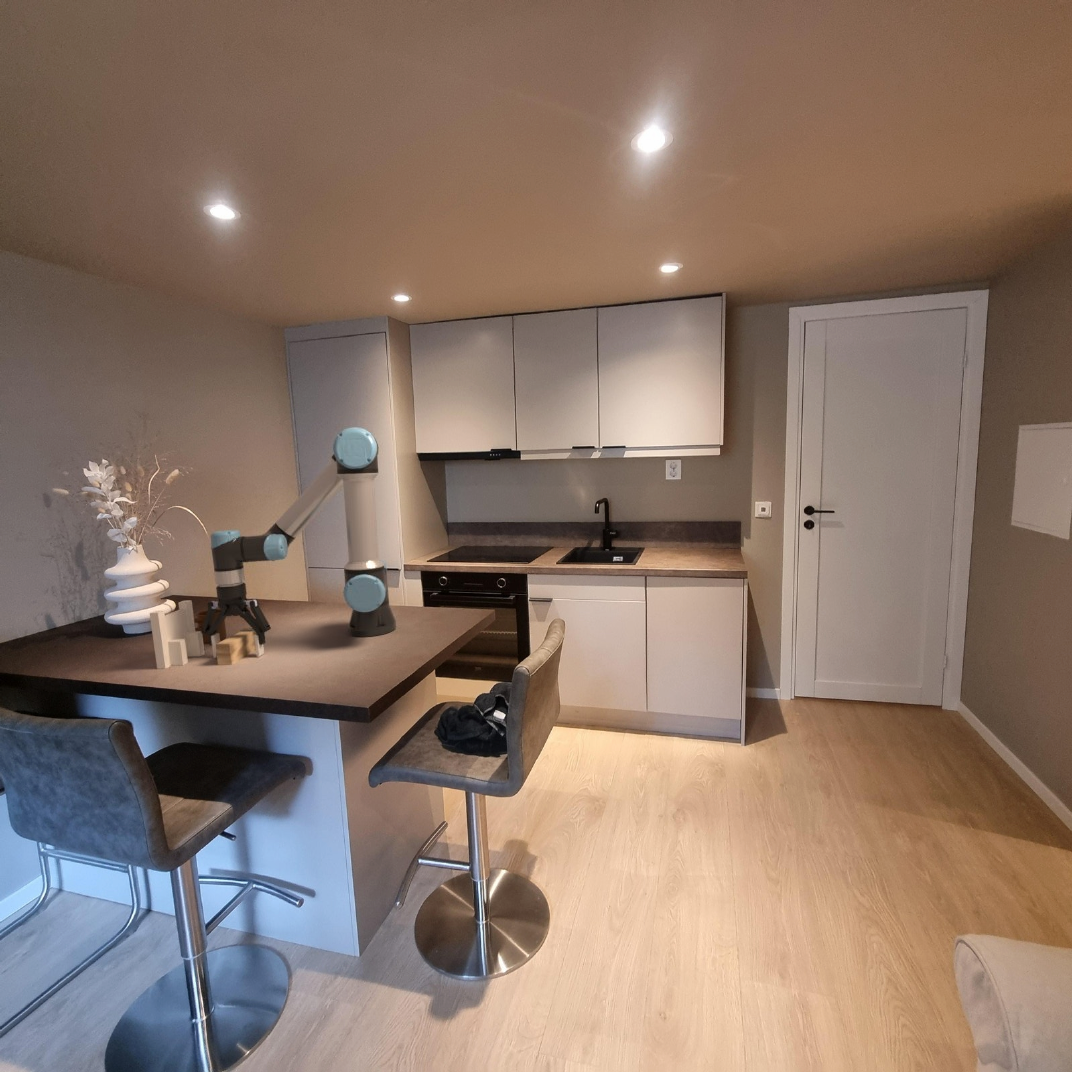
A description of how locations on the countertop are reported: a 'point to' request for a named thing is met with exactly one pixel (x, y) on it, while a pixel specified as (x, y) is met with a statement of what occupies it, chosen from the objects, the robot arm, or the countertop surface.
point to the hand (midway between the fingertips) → (239, 655)
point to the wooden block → (236, 647)
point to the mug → (221, 630)
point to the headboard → (175, 636)
